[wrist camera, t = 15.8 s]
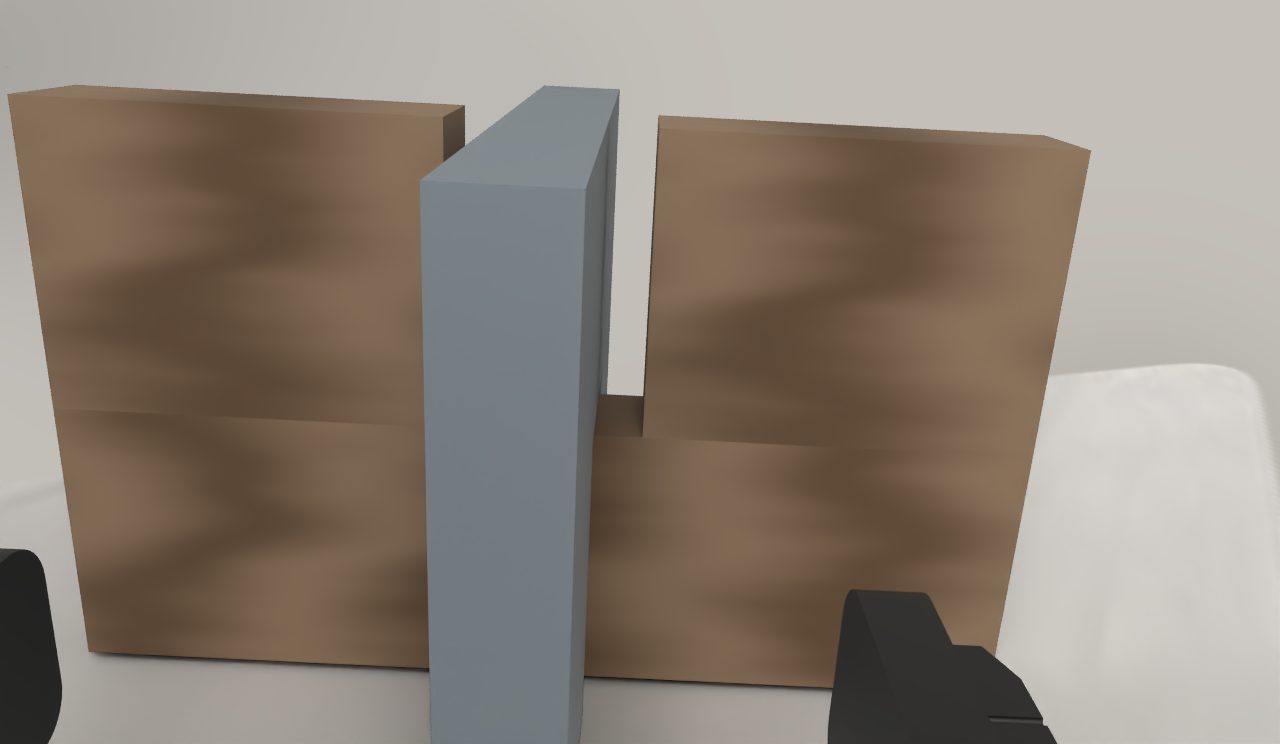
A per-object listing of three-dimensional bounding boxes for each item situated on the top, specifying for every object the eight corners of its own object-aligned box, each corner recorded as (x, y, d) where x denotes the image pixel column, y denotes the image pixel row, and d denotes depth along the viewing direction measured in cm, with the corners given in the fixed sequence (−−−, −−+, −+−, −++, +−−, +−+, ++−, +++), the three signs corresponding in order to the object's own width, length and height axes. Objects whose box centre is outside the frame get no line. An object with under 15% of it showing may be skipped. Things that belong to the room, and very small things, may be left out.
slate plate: (435, 939, 17) (419, 181, 13) (536, 494, 32) (544, 85, 28) (560, 945, 17) (586, 189, 13) (602, 497, 32) (619, 89, 28)
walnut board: (88, 651, 23) (7, 94, 19) (138, 594, 25) (75, 84, 21) (987, 695, 23) (1091, 151, 19) (957, 634, 26) (1044, 135, 22)
